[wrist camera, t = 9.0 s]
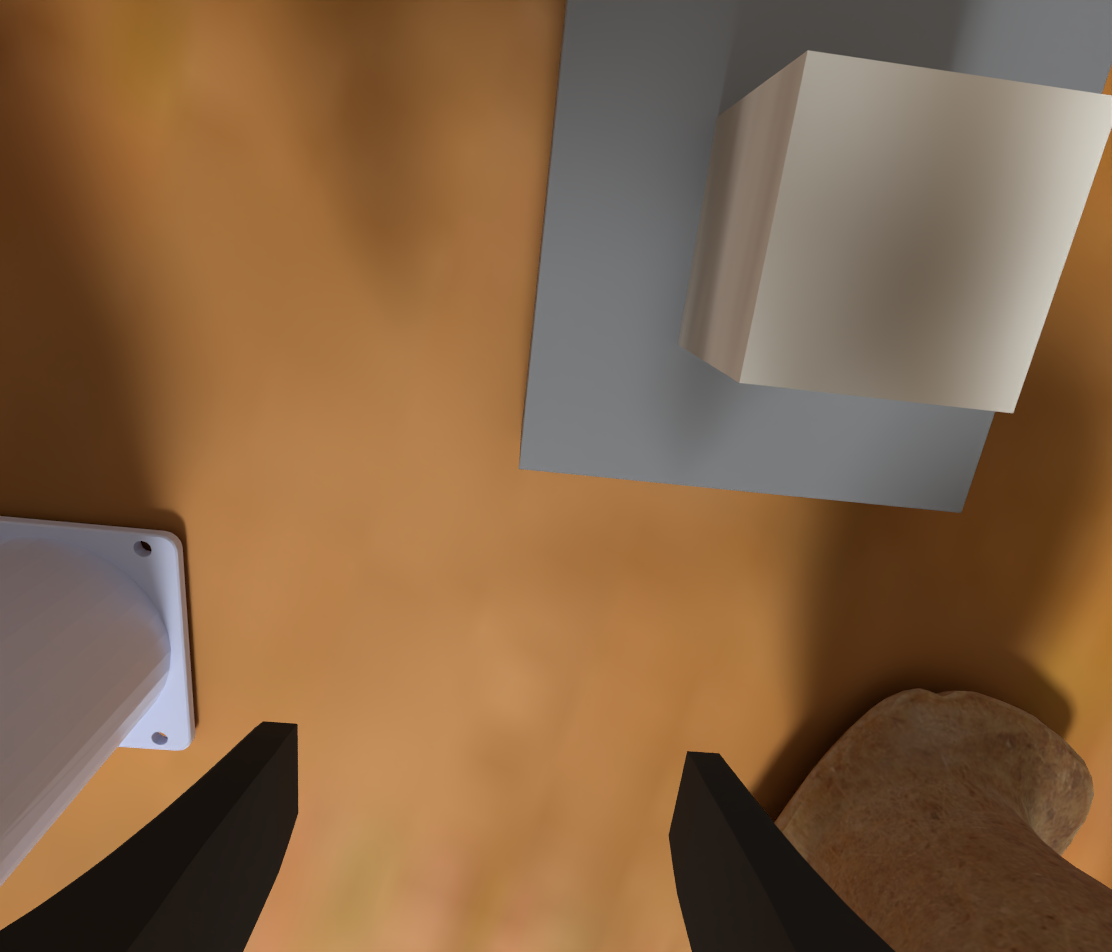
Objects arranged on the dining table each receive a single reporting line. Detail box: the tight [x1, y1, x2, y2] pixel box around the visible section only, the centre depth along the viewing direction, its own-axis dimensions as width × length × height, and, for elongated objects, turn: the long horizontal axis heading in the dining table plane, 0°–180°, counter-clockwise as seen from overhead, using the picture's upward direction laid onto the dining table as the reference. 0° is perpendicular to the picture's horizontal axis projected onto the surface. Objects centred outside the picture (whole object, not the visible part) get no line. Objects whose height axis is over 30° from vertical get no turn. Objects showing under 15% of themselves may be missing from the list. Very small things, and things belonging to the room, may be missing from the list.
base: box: [519, 0, 1112, 513], centre depth 17 cm, size 12×12×3 cm
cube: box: [678, 50, 1112, 413], centre depth 13 cm, size 5×5×5 cm
